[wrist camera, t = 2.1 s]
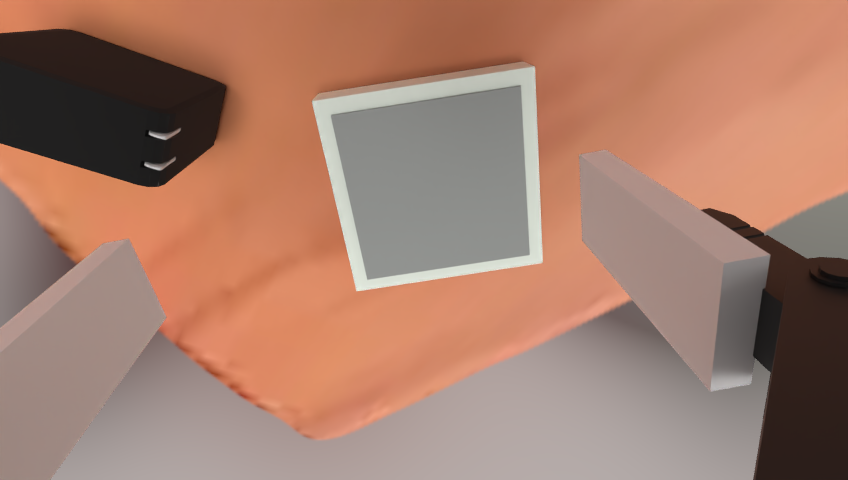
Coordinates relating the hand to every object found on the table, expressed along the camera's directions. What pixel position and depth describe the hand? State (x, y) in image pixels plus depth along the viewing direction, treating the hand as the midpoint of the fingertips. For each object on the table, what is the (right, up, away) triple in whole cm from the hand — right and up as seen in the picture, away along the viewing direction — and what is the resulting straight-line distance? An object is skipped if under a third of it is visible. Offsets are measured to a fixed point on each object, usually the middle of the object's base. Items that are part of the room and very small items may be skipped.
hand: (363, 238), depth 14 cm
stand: (+3, +5, +22) cm, 22 cm away
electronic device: (-17, +10, +18) cm, 27 cm away
